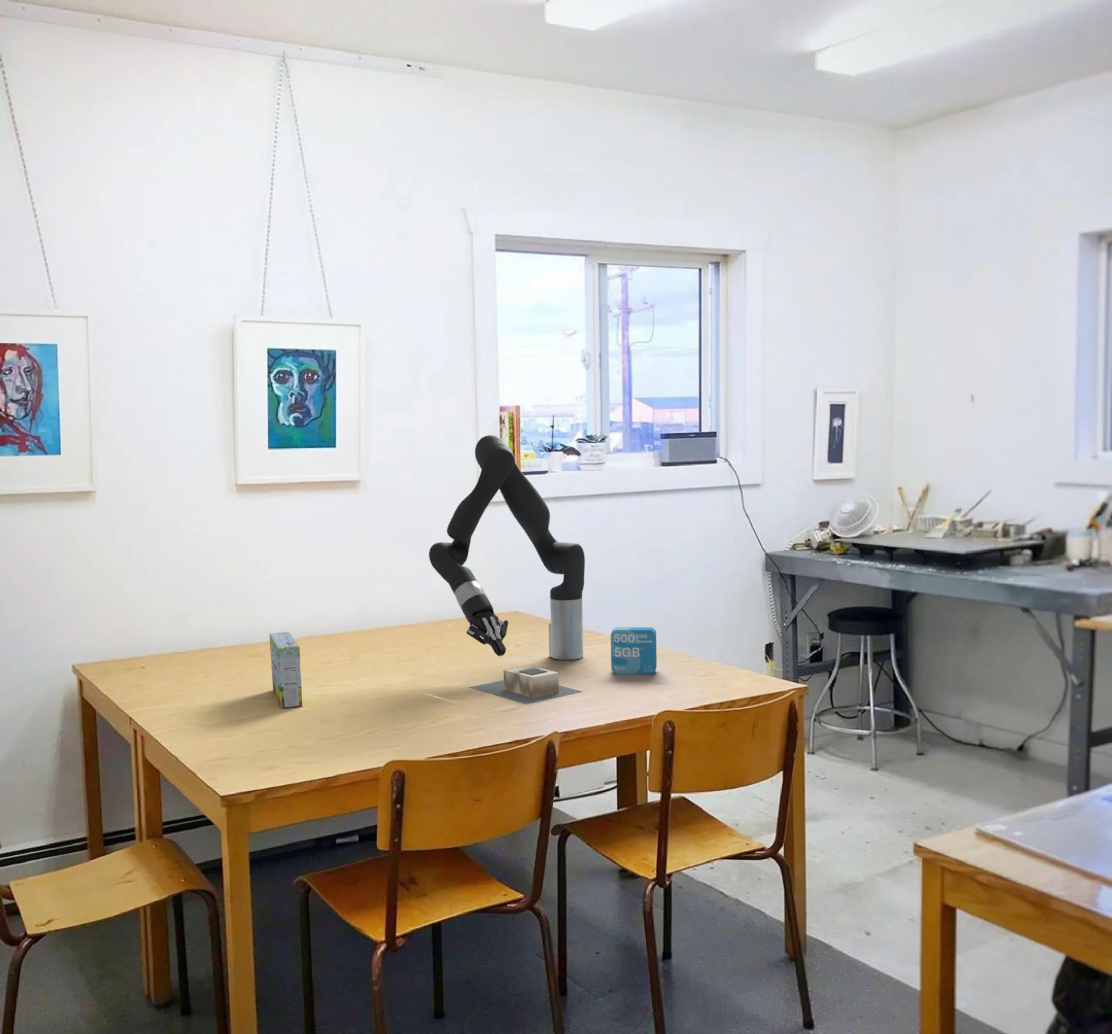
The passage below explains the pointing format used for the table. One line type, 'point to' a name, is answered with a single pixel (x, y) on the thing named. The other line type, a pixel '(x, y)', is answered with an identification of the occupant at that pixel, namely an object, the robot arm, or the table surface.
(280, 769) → the table surface
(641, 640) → the data package
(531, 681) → the ash block
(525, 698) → the mat
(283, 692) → the snack box
